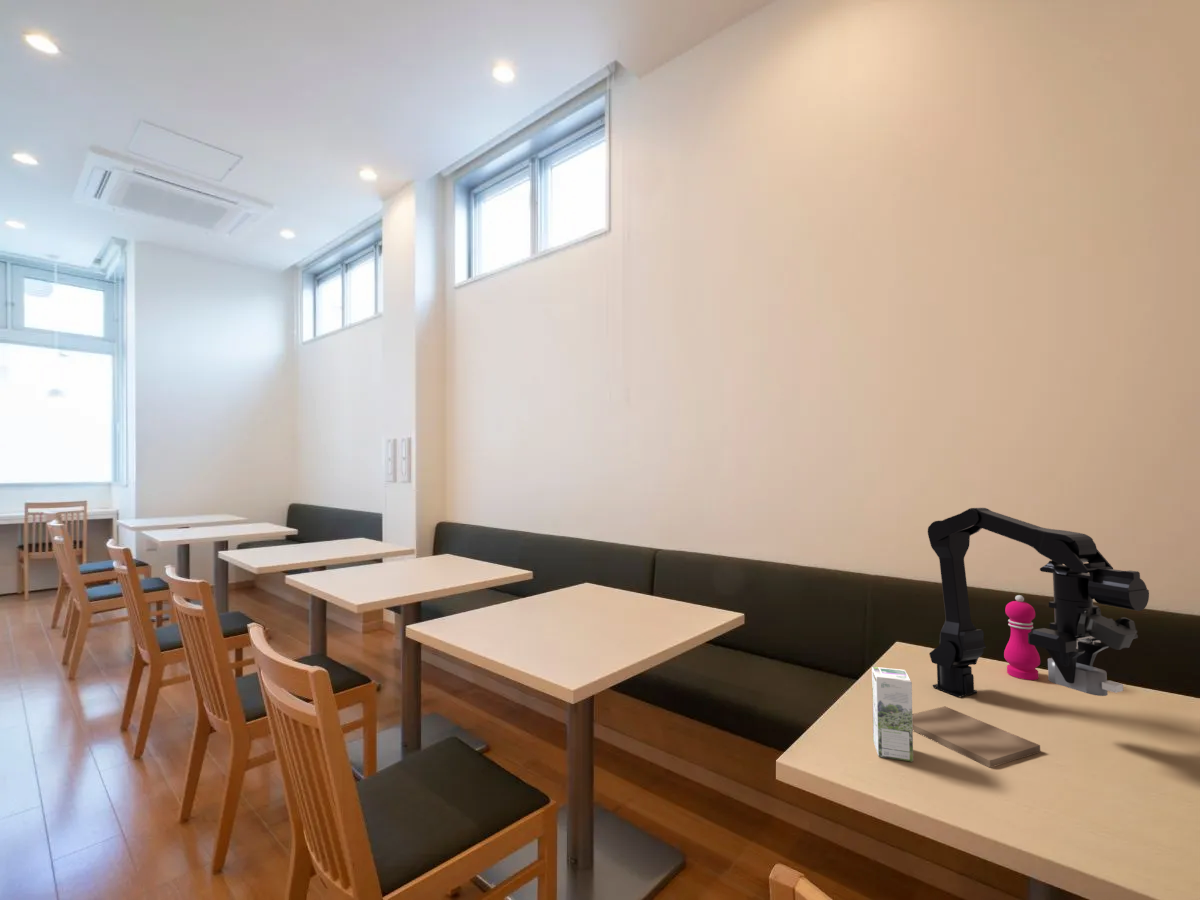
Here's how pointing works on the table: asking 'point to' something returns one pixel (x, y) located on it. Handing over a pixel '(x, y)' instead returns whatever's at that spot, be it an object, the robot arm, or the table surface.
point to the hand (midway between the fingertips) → (1076, 681)
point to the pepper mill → (1021, 641)
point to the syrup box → (892, 713)
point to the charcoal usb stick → (1085, 679)
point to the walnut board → (972, 736)
